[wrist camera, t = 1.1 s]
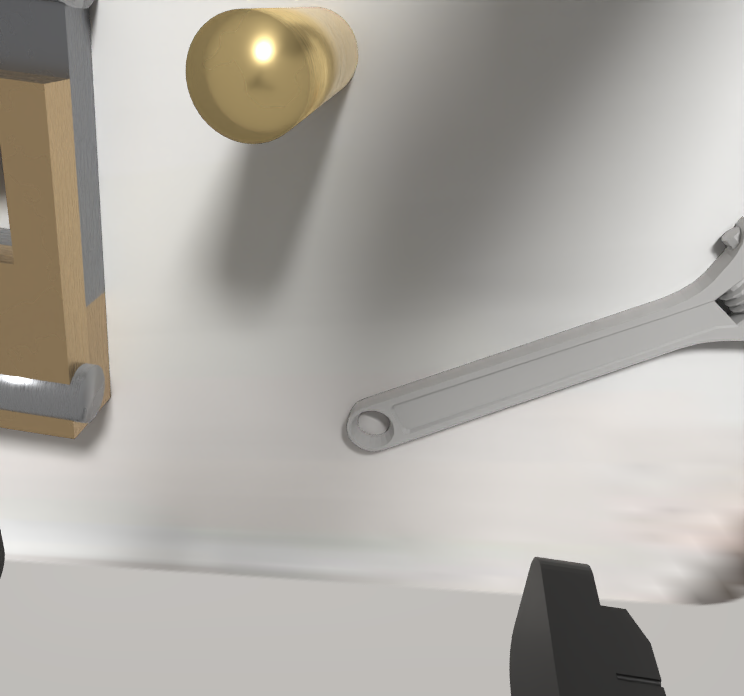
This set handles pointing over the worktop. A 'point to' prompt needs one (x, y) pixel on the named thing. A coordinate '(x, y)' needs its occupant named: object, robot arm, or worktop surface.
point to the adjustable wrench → (565, 356)
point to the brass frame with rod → (50, 222)
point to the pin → (268, 69)
